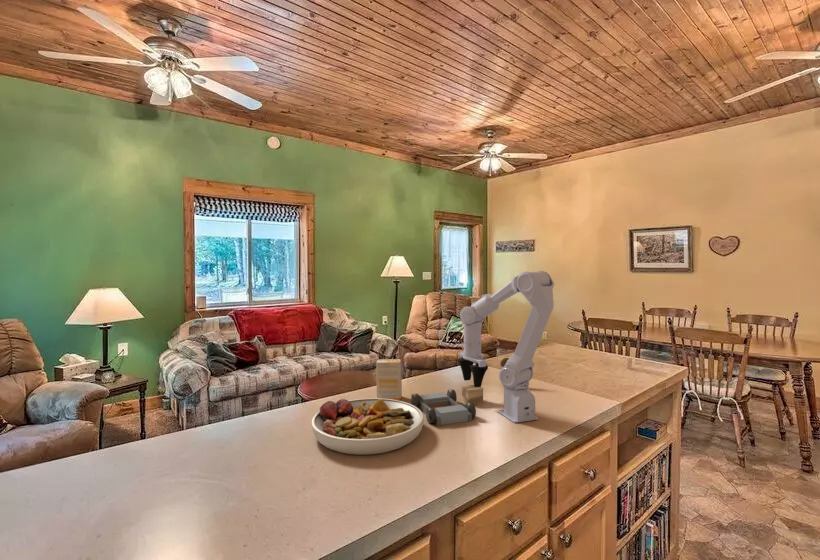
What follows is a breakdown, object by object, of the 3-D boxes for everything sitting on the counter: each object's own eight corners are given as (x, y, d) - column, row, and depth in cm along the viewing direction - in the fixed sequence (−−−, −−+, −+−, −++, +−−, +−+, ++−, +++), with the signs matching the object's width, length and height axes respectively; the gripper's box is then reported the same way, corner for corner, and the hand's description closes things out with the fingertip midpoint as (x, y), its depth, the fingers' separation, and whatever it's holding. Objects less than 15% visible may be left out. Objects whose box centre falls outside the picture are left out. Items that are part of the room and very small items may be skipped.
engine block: (483, 403, 135) (483, 388, 134) (468, 405, 133) (468, 390, 133) (476, 399, 139) (476, 384, 139) (462, 401, 137) (462, 386, 137)
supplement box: (402, 396, 142) (401, 358, 142) (400, 400, 138) (400, 362, 137) (378, 395, 143) (378, 358, 143) (376, 400, 138) (375, 361, 138)
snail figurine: (518, 387, 151) (518, 355, 150) (501, 387, 151) (501, 355, 151) (515, 383, 156) (515, 351, 156) (498, 383, 156) (498, 352, 156)
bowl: (434, 419, 122) (433, 393, 122) (406, 467, 93) (405, 433, 93) (341, 410, 130) (341, 385, 130) (289, 452, 101) (288, 421, 101)
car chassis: (476, 420, 120) (476, 405, 120) (431, 426, 116) (431, 411, 116) (450, 399, 138) (450, 387, 138) (410, 404, 134) (410, 391, 134)
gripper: (494, 346, 129) (494, 388, 130) (473, 337, 143) (473, 376, 144) (474, 347, 127) (474, 390, 128) (454, 339, 141) (454, 378, 142)
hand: (472, 383), depth 136 cm, fingers open, 7 cm apart
